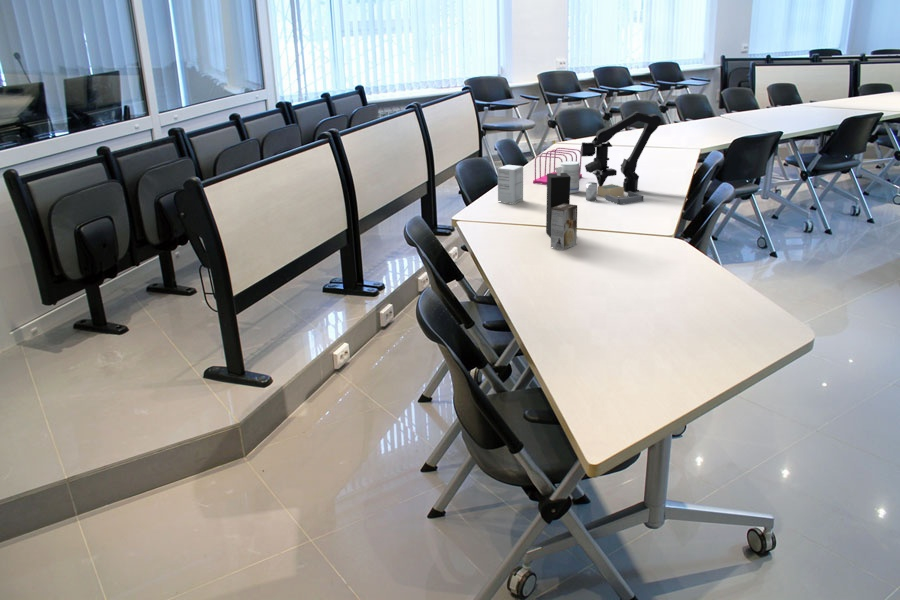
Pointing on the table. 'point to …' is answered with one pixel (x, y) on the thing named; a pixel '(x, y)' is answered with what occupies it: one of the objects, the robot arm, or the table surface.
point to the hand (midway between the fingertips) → (600, 187)
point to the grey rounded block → (591, 191)
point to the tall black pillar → (556, 193)
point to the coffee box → (563, 226)
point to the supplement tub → (572, 174)
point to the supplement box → (510, 184)
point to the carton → (610, 190)
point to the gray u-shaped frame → (632, 198)
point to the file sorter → (544, 178)
